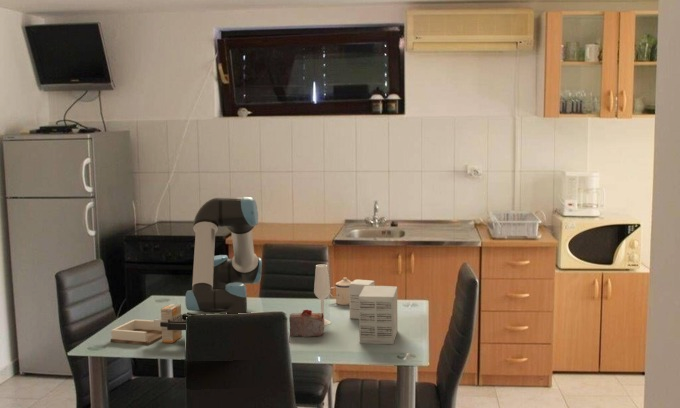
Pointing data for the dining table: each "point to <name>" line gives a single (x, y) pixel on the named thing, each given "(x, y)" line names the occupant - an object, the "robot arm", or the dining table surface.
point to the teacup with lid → (342, 291)
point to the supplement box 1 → (174, 315)
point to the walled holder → (137, 332)
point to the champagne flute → (322, 286)
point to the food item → (306, 324)
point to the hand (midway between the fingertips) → (160, 319)
